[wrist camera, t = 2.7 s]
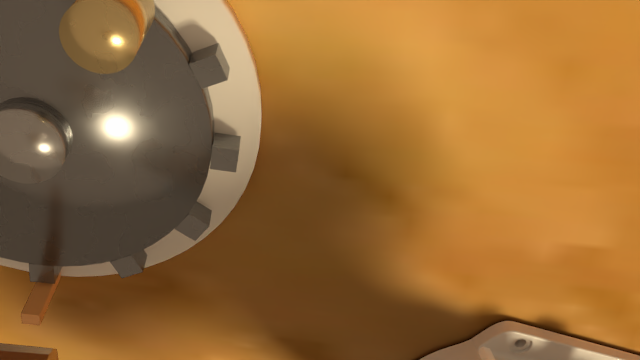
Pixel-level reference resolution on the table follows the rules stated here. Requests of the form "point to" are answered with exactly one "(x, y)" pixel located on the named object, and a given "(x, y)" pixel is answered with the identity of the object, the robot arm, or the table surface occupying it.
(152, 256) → the sprocket base
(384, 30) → the table surface
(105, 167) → the sprocket
